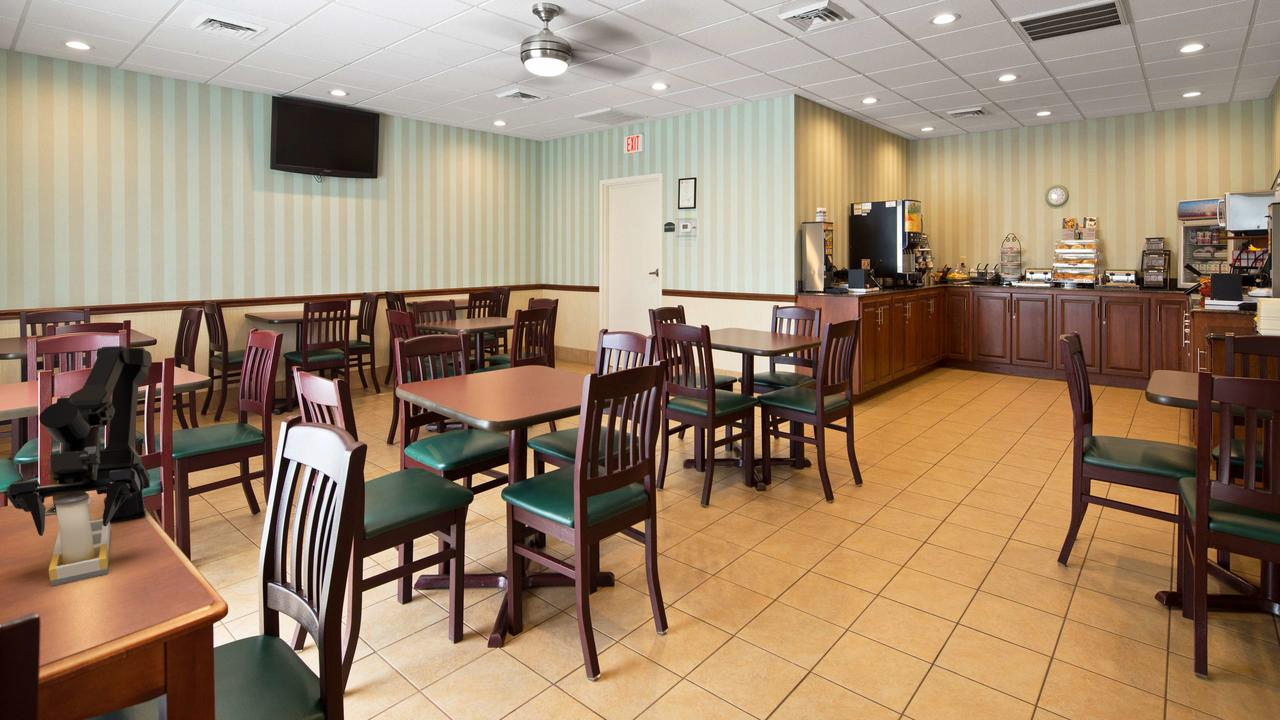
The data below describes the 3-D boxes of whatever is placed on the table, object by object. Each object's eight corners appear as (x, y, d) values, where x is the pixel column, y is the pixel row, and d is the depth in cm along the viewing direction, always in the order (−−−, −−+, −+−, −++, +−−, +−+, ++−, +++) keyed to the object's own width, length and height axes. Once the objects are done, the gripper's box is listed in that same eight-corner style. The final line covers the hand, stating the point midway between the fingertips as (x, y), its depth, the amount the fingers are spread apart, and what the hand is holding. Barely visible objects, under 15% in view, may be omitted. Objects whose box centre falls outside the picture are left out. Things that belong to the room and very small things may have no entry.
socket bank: (110, 531, 147) (109, 517, 147) (107, 573, 128) (105, 558, 128) (61, 540, 143) (60, 526, 142) (50, 586, 123) (48, 570, 123)
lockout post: (97, 557, 132) (89, 490, 130) (96, 566, 128) (88, 498, 126) (63, 564, 129) (54, 496, 127) (61, 573, 125) (52, 504, 123)
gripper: (1, 439, 124) (-11, 520, 116) (130, 426, 133) (126, 501, 125) (22, 470, 132) (11, 547, 124) (141, 456, 141) (139, 527, 133)
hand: (73, 530), depth 126 cm, fingers open, 9 cm apart
